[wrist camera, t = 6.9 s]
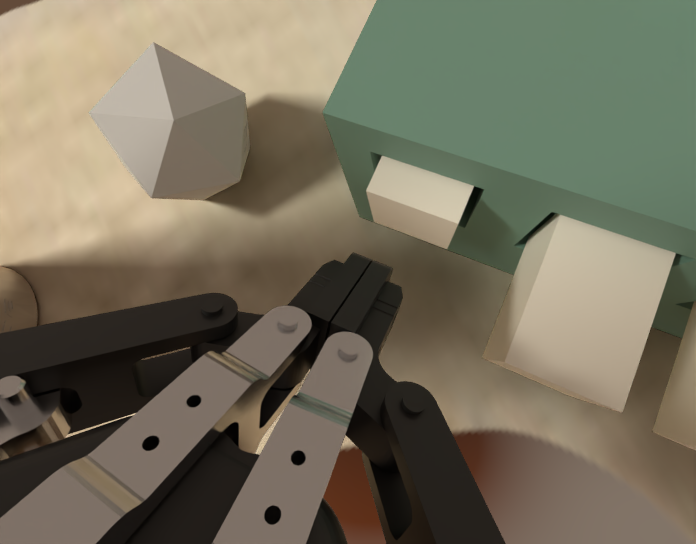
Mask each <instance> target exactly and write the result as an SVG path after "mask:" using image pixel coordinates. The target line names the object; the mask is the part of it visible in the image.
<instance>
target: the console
mask: <svg viewBox="0 0 696 544" xmlns="http://www.w3.org/2000/svg"><path fill="white" fill-rule="evenodd" d="M323 116H324V118H325V121H326V124H327V127H328V130H329V132H330V135H331V138H332V141H333V144H334V146H335V149H336V152H337V155H338V158H339V160H340V163H341V166H342V169H343V172H344V174H345V177H346V180H347V183H348V186H349V188H350V191H351V194H352V197H353V200H354V202H355V205H356V208H357V211H358V213H359V216H360V217H362V218H364V219H367V220H370V221H372V222H374V220H373V216H372V212H371V208H370V204H369V200H368V197H367V193H366V190H367V188H368V185H369V183H370V181H371V179H372V177H373V174H374V172H375V170H376V168H377V166H378V163H379V161H380V159H381V157H382V156H385V157H388V158H391V159H394V160H397V161H400V162H403V163H407V164H410V165H413V166H416V167H419V168H422V169H425V170H428V171H431V172H434V173H437V174H440V175H443V176H446V177H449V178H452V179H455V180H458V181H461V182H464V183H467V184H470V185H473V186H474V187H473V190H472V192H471V195H470V197H469V199H468V202H467V204H466V207H465V209H464V212H463V214H462V216H461V219H460V221H459V224H458V226H457V228H456V230H455V233H454V235H453V237H452V239H451V241H450V244H449V246H448V248H447V249H446V250H449V251H452V252H454V253H457V254H460V255H462V256H465V257H468V258H470V259H473V260H476V261H478V262H481V263H484V264H486V265H489V266H491V267H494V268H497V269H499V270H502V271H505V272H507V273H510V274H513V275H514V274H515V271H516V268H517V266H518V263H519V261H520V258H521V256H522V253H523V250H524V248H525V245H526V243H527V240H528V238H529V236H531V235H532V234H533V233H534V232H535V231H536V230H538V229H539V228H540V227H541V226H542V225H543V224H545V223H546V222H547V221H548V220H549V219H550V218H551V217H553V216H554V215H555V214H556V213H557V214H560V215H563V216H566V217H569V218H572V219H575V220H578V221H581V222H584V223H587V224H590V225H593V226H596V227H599V228H602V229H605V230H608V231H611V232H614V233H617V234H620V235H623V236H626V237H629V238H632V239H635V240H638V241H641V242H644V243H647V244H650V245H653V246H656V247H659V248H662V249H665V250H668V251H671V252H674V253H676V254H675V257H674V260H673V263H672V266H671V269H670V272H669V275H668V278H667V281H666V284H665V287H664V290H663V293H662V296H661V299H660V302H659V305H658V308H657V311H656V314H655V317H654V320H653V323H652V326H651V327H653V328H656V329H658V330H661V331H664V332H666V333H669V334H672V335H674V336H677V337H679V338H683V334H684V331H685V328H686V325H687V322H688V319H689V316H690V313H691V310H692V307H693V303H694V301H696V0H377V1H376V3H375V5H374V7H373V9H372V11H371V13H370V15H369V17H368V20H367V22H366V24H365V26H364V28H363V30H362V32H361V34H360V36H359V38H358V40H357V42H356V44H355V46H354V49H353V51H352V53H351V55H350V57H349V59H348V61H347V63H346V65H345V67H344V69H343V71H342V73H341V75H340V77H339V80H338V82H337V84H336V86H335V88H334V90H333V92H332V94H331V96H330V98H329V100H328V102H327V104H326V106H325V108H324V111H323ZM375 223H376V222H375ZM380 225H381V224H380ZM383 226H384V225H383ZM388 228H389V227H388ZM391 229H392V228H391ZM393 230H394V229H393ZM396 231H397V230H396ZM399 232H400V231H399ZM401 233H402V232H401ZM404 234H405V233H404ZM409 236H410V235H409ZM412 237H413V236H412ZM417 239H418V238H417ZM420 240H421V239H420ZM425 242H426V241H425ZM428 243H429V242H428ZM433 245H434V244H433ZM436 246H437V245H436ZM438 247H439V246H438ZM441 248H442V247H441ZM444 249H445V248H444Z"/></svg>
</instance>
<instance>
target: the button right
mask: <svg viewBox="0 0 696 544" xmlns="http://www.w3.org/2000/svg"><path fill="white" fill-rule="evenodd" d="M652 432H654V433H656V434H658V435H660V436H663V437H665V438H667V439H670V440H672V441H674V442H676V443H679V444H681V445H683V446H686V447H688V448H690V449H693V450H695V451H696V301H694V303H693V307H692V310H691V313H690V316H689V319H688V322H687V325H686V328H685V331H684V334H683V338H682V341H681V344H680V347H679V350H678V353H677V356H676V359H675V362H674V365H673V369H672V372H671V375H670V378H669V381H668V384H667V387H666V390H665V393H664V396H663V400H662V403H661V406H660V409H659V412H658V415H657V418H656V421H655V424H654V427H653V431H652Z"/></svg>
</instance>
